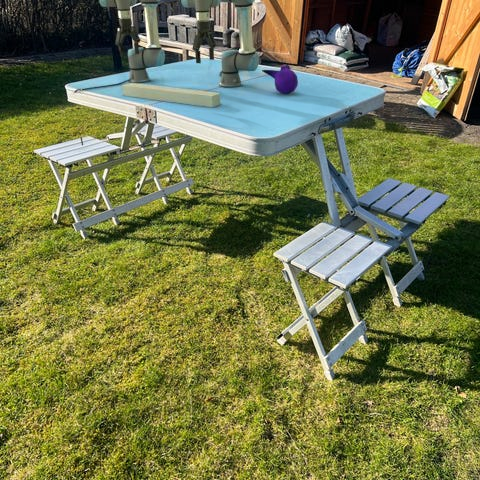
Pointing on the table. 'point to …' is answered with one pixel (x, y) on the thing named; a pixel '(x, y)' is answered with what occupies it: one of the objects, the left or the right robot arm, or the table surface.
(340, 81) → the table surface
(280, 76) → the toy
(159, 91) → the beige rectangular bar
